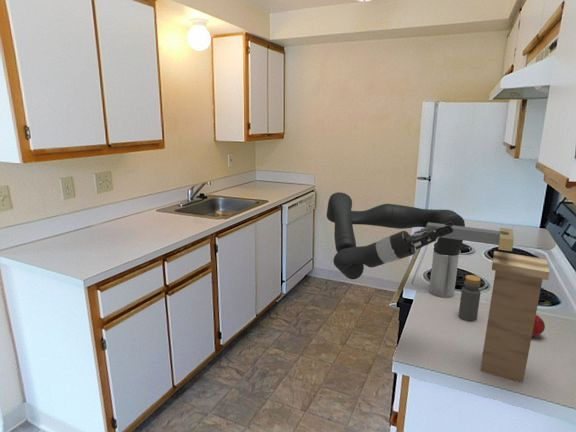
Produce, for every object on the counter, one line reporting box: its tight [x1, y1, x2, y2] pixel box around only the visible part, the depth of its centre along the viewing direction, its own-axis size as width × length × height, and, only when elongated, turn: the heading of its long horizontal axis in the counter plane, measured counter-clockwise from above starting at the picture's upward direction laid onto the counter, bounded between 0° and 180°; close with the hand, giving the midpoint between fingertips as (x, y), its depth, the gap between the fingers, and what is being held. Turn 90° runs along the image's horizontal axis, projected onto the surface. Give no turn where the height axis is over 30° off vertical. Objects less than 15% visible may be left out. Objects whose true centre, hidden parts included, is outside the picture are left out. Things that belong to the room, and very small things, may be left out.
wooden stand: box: [480, 250, 550, 384], centre depth 100 cm, size 10×12×32 cm
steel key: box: [426, 222, 515, 252], centre depth 101 cm, size 10×21×3 cm, turn 61°
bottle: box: [458, 274, 482, 322], centre depth 129 cm, size 6×6×15 cm
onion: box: [532, 313, 546, 337], centre depth 119 cm, size 6×6×8 cm
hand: (452, 226), depth 103 cm, fingers closed on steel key, 3 cm apart
